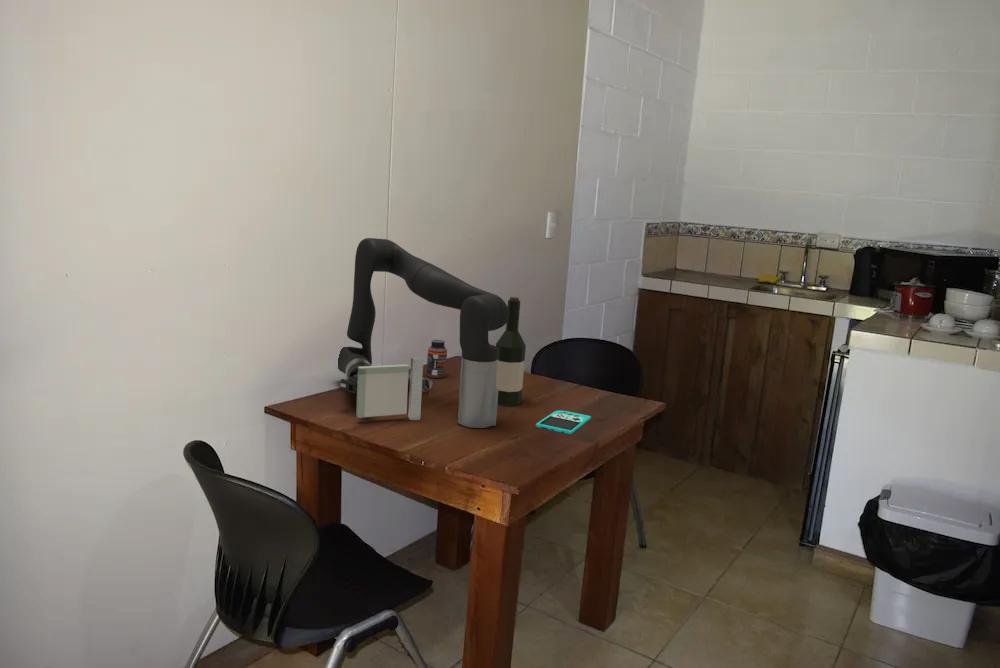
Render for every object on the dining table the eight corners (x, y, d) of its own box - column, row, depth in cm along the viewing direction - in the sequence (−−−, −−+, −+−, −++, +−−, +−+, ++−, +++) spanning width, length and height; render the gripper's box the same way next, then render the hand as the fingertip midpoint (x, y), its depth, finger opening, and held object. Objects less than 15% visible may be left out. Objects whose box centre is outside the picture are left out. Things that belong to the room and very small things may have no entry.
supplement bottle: (438, 379, 237) (440, 343, 235) (422, 376, 240) (424, 340, 238) (449, 376, 242) (451, 340, 240) (433, 372, 245) (435, 337, 243)
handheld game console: (591, 420, 211) (592, 415, 210) (571, 436, 196) (572, 431, 196) (557, 413, 215) (557, 408, 214) (535, 428, 200) (535, 423, 200)
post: (418, 416, 201) (421, 356, 198) (420, 419, 199) (423, 359, 195) (408, 417, 200) (411, 356, 197) (410, 420, 198) (413, 359, 195)
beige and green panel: (404, 412, 199) (406, 364, 197) (406, 414, 198) (409, 365, 195) (356, 415, 193) (358, 366, 191) (358, 417, 192) (359, 368, 189)
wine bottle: (492, 405, 215) (499, 299, 209) (491, 396, 224) (498, 294, 217) (522, 407, 216) (530, 301, 210) (520, 398, 224) (528, 296, 218)
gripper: (336, 361, 207) (342, 379, 191) (385, 361, 211) (396, 379, 195) (335, 388, 209) (341, 409, 192) (384, 387, 212) (394, 407, 196)
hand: (369, 394), depth 194 cm, fingers closed
